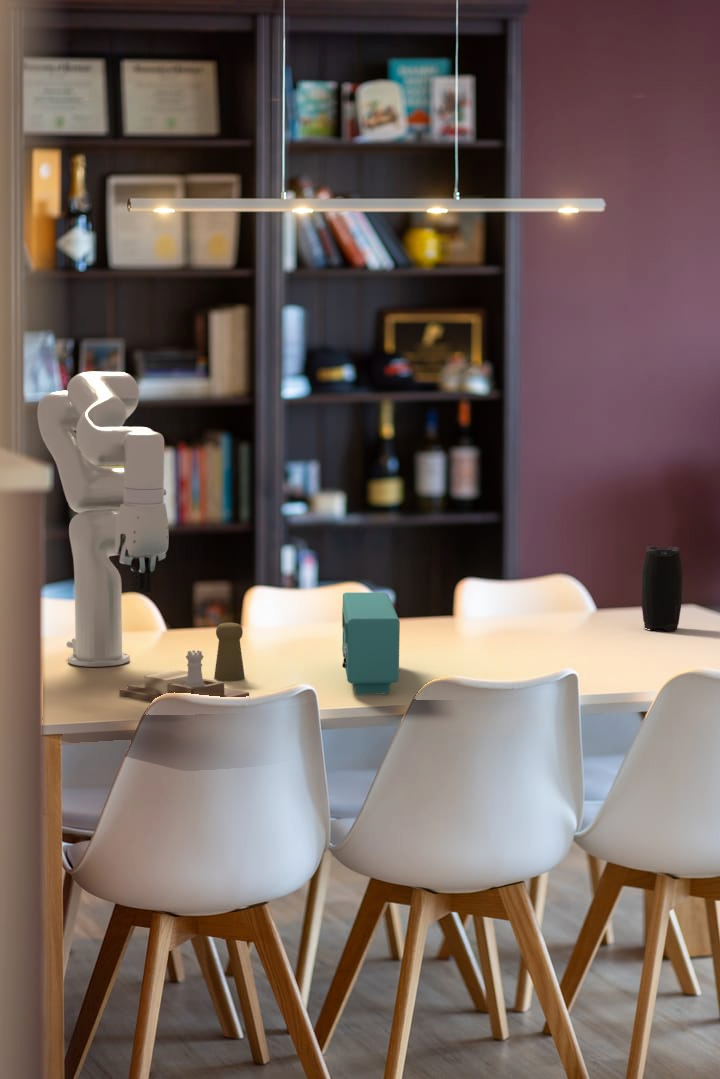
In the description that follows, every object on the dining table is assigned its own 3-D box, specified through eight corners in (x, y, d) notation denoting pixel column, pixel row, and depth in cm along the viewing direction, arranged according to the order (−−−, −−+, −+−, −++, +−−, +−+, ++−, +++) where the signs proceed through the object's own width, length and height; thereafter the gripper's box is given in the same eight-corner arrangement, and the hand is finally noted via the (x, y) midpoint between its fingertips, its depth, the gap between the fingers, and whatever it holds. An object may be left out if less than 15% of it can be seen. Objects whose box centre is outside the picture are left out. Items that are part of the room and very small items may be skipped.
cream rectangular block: (144, 690, 274) (144, 675, 274) (176, 684, 280) (176, 669, 280) (166, 695, 270) (166, 680, 270) (198, 688, 277) (198, 673, 276)
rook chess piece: (183, 692, 274) (183, 649, 273) (207, 692, 274) (207, 649, 273) (181, 697, 269) (181, 653, 268) (206, 697, 270) (206, 653, 269)
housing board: (119, 695, 276) (119, 677, 276) (174, 684, 287) (174, 666, 286) (194, 711, 263) (194, 692, 263) (249, 698, 274) (249, 680, 274)
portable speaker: (634, 627, 354) (636, 546, 352) (668, 625, 357) (670, 544, 355) (653, 633, 346) (655, 550, 344) (687, 631, 349) (690, 548, 347)
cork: (245, 675, 296) (245, 620, 294) (244, 681, 290) (244, 625, 288) (215, 675, 295) (214, 620, 294) (213, 681, 289) (212, 625, 288)
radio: (337, 663, 309) (338, 592, 307) (387, 663, 309) (388, 592, 308) (343, 698, 275) (343, 618, 273) (399, 698, 276) (400, 618, 274)
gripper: (159, 491, 289) (158, 584, 292) (100, 497, 278) (99, 593, 281) (186, 495, 284) (184, 589, 287) (126, 502, 273) (125, 600, 276)
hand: (142, 591), depth 284 cm, fingers closed
